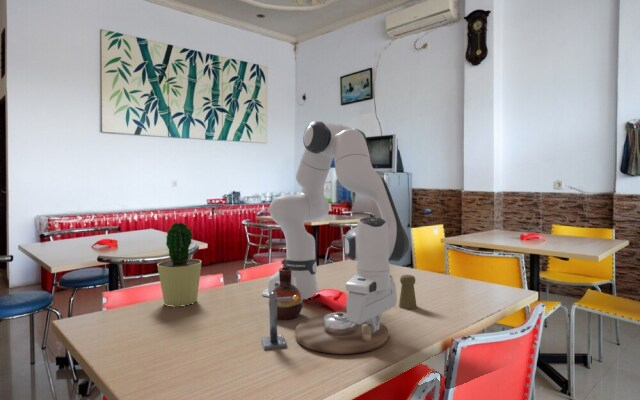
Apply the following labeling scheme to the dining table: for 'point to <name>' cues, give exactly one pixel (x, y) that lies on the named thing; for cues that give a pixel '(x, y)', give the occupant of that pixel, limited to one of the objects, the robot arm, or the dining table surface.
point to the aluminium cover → (338, 324)
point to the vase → (287, 290)
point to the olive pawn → (407, 292)
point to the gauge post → (275, 323)
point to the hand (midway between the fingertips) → (374, 331)
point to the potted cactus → (179, 268)
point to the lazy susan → (339, 337)
